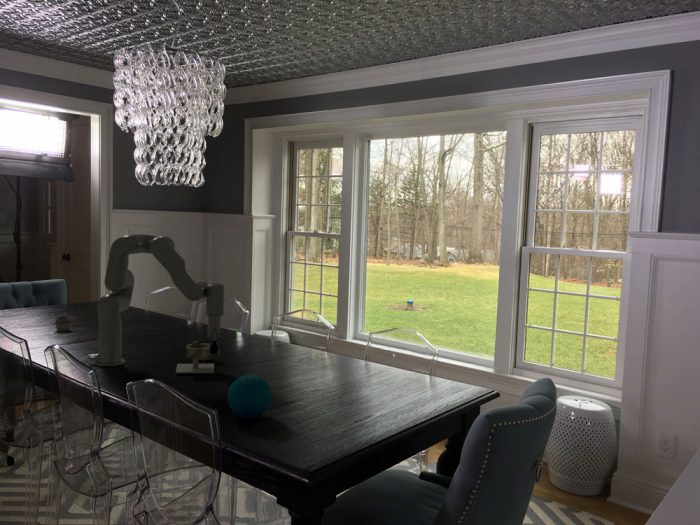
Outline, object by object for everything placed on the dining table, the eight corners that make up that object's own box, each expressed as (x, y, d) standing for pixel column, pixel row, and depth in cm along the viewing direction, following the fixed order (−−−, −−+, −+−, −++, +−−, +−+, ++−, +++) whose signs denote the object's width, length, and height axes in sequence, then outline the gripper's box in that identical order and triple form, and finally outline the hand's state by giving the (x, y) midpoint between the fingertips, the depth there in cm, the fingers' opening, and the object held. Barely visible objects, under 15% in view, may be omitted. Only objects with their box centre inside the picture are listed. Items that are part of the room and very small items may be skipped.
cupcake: (55, 329, 336) (55, 311, 335) (73, 329, 338) (73, 311, 338) (52, 332, 327) (52, 314, 326) (71, 332, 330) (71, 314, 329)
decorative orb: (272, 411, 219) (274, 370, 217) (268, 425, 204) (269, 382, 203) (230, 409, 218) (232, 368, 217) (223, 424, 203) (224, 380, 202)
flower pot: (193, 362, 280) (194, 344, 279) (193, 357, 289) (194, 339, 288) (214, 362, 283) (215, 344, 282) (213, 357, 292) (214, 339, 291)
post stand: (175, 375, 258) (176, 344, 257) (177, 367, 271) (178, 337, 270) (214, 374, 262) (215, 344, 261) (213, 366, 274) (214, 338, 273)
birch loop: (186, 358, 260) (186, 349, 259) (187, 352, 270) (187, 344, 269) (219, 357, 263) (219, 348, 263) (219, 351, 273) (219, 343, 272)
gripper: (206, 308, 273) (205, 348, 274) (206, 314, 257) (205, 357, 258) (223, 308, 274) (222, 348, 276) (224, 314, 259) (222, 357, 260)
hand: (213, 352), depth 267 cm, fingers closed on birch loop, 3 cm apart
